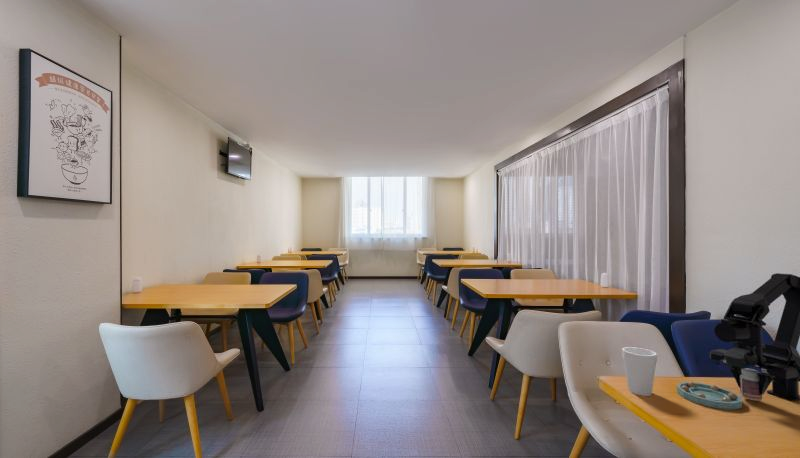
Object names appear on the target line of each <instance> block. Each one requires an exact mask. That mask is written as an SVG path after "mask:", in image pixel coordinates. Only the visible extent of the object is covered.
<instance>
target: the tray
mask: <svg viewBox="0 0 800 458" xmlns="http://www.w3.org/2000/svg"><path fill="white" fill-rule="evenodd" d="M676 391H677V394H678V395H679V396H680V397H681V398H684V399H685V400H687V401H690V402H692V403H695V404H697V405H701V406H704V407H709V408H712V409H718V410H725V411H726V410H727V411H735V410H740V409H742V408H743V398H742V396H741V395H739V394H737V393H735V392H734V391H732V390H728V389H726V388H723V387H719V386H717V385H715V384H707V383H702V382H694V381H683V382H678V383H677V387H676Z"/></svg>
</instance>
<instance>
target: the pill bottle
mask: <svg viewBox="0 0 800 458" xmlns="http://www.w3.org/2000/svg"><path fill="white" fill-rule="evenodd" d="M759 372H760V371H759V370H756V369H753V368H750V367H749V368H747V367H746V368H741V373H742V374H741V375H740V389H739V393H740V397H741V398H742V397H743V398H744V399H747V400H749V401H750V400H751V401H758V402H760V401H762V400H763V395H761V394H760V392H759V376H758V374H757V373H759Z"/></svg>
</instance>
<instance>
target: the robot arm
mask: <svg viewBox="0 0 800 458" xmlns="http://www.w3.org/2000/svg"><path fill="white" fill-rule="evenodd" d="M781 296H783V299H784V300H785V303H784V307H783V309H782V314H781V318H780V321H779V323H778V327H777V330H776V334H775V338H774V340H773V341H772V342H771V343H763V326H764V327H766V325H767V323H766V322H765V321H763V320H764V318H766V316H767V315H768V314H769V313H770V312H771V310H770V306H771V304H772V303H774V301H776V300H777V299H779V297H781ZM713 331H714V334H715V336H716V337H717V339H719V340H720V341H722V342H725V343H733V345H732V348H729V349H728V350H727V349H724V348H723V349H722V348H719V349H718V348H717V349H712V350H710V352H709V359H710V360H715V361H718V362H721V364H722V365H724V366H725V367H727V368H728V369H729V370H730V372H731V374H732V376H733V378H734V380H735V382H736V384H737V386H738V388H740V375H741V374H742V373H741V368H747V367H748V366H749V367H753V368H757V369H761V371H759V373H757V374H758V376H759V392H760V394H761V395H762V396H763V395H765V392H766V393H767V394H770V395H774V396H776V397H780V398H783V399H786V400H790V401H793V402H795V401H799V400H800V389H799V388H800V386H799V383H800V353H799V351H798V349H797V347H798V344H799V340H800V276H798V275H794V274H792V273H791V274H790V273H779V272H777V273H776V272H775V273H772V275H771V276H770V278H769V279H768V280H767V281H765V282H764V283H763V284H762V285H760V286H759V287H758V288H757V289H755V290H753V292H751V293H748V294H743V295H740V296H738V297H735V298H734V299H733V300H732V301H731V302H730V304H729V306H728V308H727V309H726V312H725V314H724V316H723V318H721V322H720V323H717V324H716V325H715V327H714V329H713ZM770 384H771V388H772V389H769V390H767V389H768V388H769V386H770Z"/></svg>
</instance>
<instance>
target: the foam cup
mask: <svg viewBox="0 0 800 458" xmlns="http://www.w3.org/2000/svg"><path fill="white" fill-rule="evenodd" d="M621 356H622V358H623V366H624V371H625V372H624V373H625V376H626V377H625V378H626V383H627V388H628V389H627V390H628V391H629V392H630V393H632V394H634V395H639V396H645V397H647V396H648V397H649V396H651V395H652V393H653V388H654V380H655V373H656V366H657V363H658V355H657V352H655V351H653V350H650V349H646V348H641V347H635V346H626V347H621Z"/></svg>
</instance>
